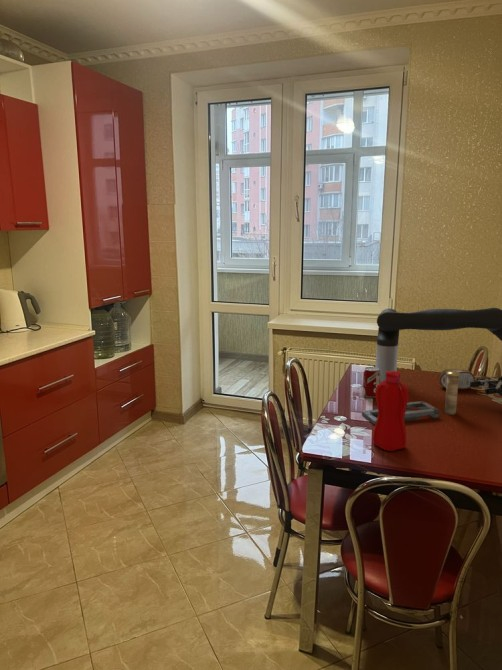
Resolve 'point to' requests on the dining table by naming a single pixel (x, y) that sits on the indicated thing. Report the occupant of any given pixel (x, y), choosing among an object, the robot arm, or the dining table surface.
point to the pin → (451, 392)
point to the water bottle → (391, 413)
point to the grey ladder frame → (408, 412)
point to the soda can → (370, 381)
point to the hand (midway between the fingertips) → (477, 388)
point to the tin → (463, 379)
